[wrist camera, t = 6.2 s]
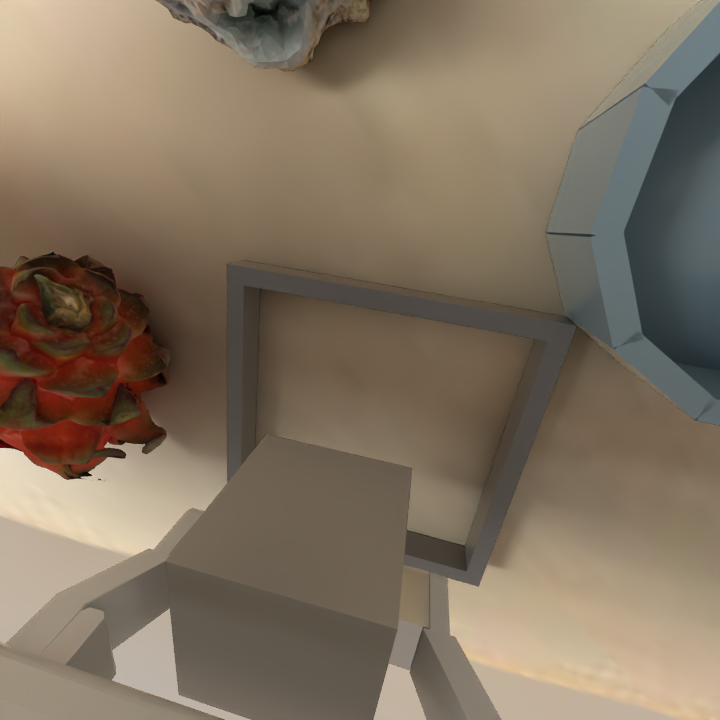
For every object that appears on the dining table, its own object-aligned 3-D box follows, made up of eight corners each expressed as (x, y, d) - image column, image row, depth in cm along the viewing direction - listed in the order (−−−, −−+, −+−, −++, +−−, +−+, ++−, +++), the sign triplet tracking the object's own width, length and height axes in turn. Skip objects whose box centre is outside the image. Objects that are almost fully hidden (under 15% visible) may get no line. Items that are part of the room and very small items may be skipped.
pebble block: (262, 541, 14) (178, 694, 9) (266, 434, 12) (165, 561, 8) (387, 575, 13) (362, 757, 9) (412, 468, 12) (397, 628, 7)
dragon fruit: (171, 232, 19) (175, 403, 25) (-54, 202, 15) (16, 411, 22) (165, 308, 13) (172, 510, 19) (-219, 288, 9) (-53, 547, 15)
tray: (241, 496, 22) (227, 515, 21) (245, 260, 17) (226, 263, 16) (475, 560, 20) (478, 586, 19) (563, 316, 15) (577, 325, 14)
